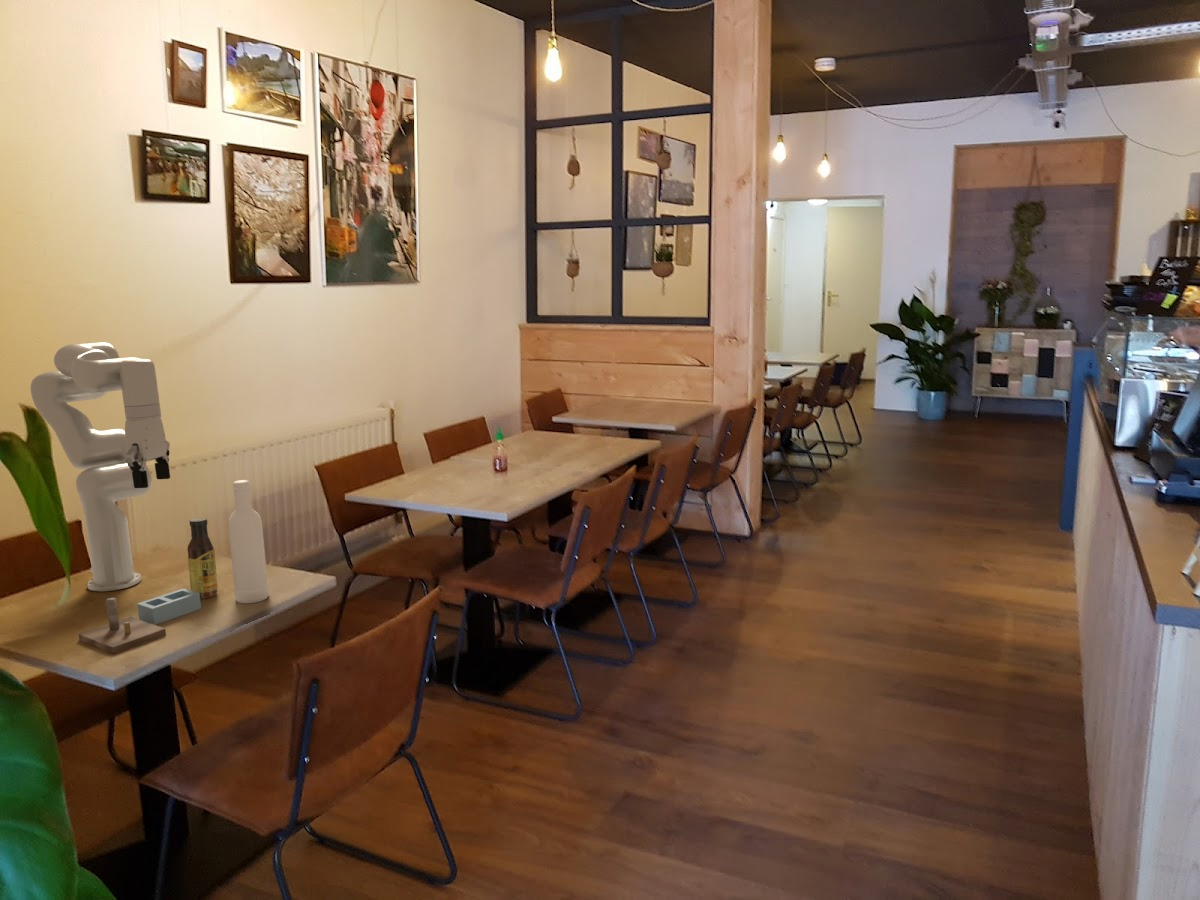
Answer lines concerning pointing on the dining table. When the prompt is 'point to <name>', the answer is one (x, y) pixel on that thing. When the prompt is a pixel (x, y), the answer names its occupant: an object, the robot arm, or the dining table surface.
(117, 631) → the post block
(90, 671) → the dining table surface
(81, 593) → the dining table surface
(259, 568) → the bottle
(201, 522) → the sauce bottle
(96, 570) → the robot arm
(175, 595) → the hollow blue brick
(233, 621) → the dining table surface
